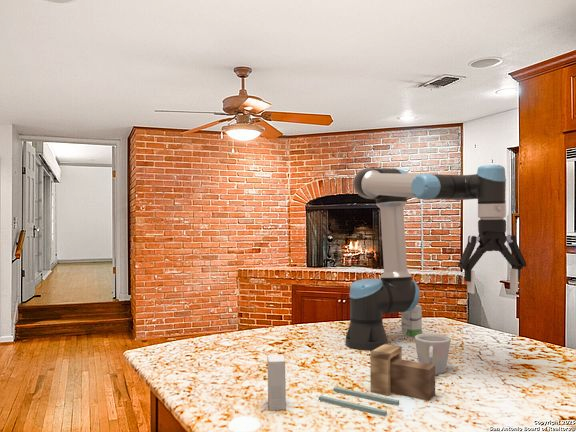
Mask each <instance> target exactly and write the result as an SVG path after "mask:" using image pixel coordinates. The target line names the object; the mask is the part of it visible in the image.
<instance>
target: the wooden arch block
mask: <svg viewBox="0 0 576 432" xmlns="http://www.w3.org/2000/svg"><path fill="white" fill-rule="evenodd" d="M402 347H403V346H400V345H393V344H389V343H388V344H384V345H382V346H380V347H378V348H376V349H374V350H370V352H369V354H370V355H369V357H370V359H369V361H370V369H369V370H370V393H374V394H378V395H383V396H390V395H391V394H392V393H391V389H390V359H391V358H396V359H402V360H403V357H402V356H403V354H402V353H403V352H402Z"/></svg>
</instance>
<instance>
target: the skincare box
mask: <svg viewBox="0 0 576 432" xmlns="http://www.w3.org/2000/svg"><path fill="white" fill-rule="evenodd" d="M266 356H267V361H266V362H267V401H268V409H269V410H268V411H281V410H282V411H283V410H286V409H287V402H286V401H287V400H286V399H287V397H286V393H287V392H286V391H287V389H286V387H287V386H286V360H285V359H286V358H285V356H284V353H281V354H280V353H278V354H273V353H272V354H267V355H266Z"/></svg>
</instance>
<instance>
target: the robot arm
mask: <svg viewBox="0 0 576 432" xmlns="http://www.w3.org/2000/svg"><path fill="white" fill-rule="evenodd" d="M476 170H477V172H476V174H475V173H474V174H438V173H436V174H435V173H408V172H407V171H406V170H404V169H399V168H396V167H394V168H385V167H384V168H381V167H380V168H379V167H375V168H374V167H369V168H368V167H367V168H364V169H361V170H360V171H358V173H356V175H355V177H354V179H353V188H354V190H355V192H356V193H357V194H358V196H360V197H362V198H364V199H368V200H375V205H376V206H377V207H378V208H379V210H380V223H381V224H380V227H381V245H382V259H383V262H382V263H383V272H382V274H381V275H380V278H363V279H358V280H355V281H353V282H352V283H351V284H350V287H349V311H350V312H349V326H348V328H347V332H346V335H345V345H346V347H348V348H351V349H355V350H363V351H373V350H374V349H376V348H378V347H380V346H382V345H384V344H389V343H388V341H389V340H388V339H389V338H388V335H387V333H386V330H385V327H384V324H383V317H384V316H383V315H388V314H395V313H400V314H401V313H403V312H406V311H410V310H413V309H414V308H415V306H416V305H419V302H420V297H421V295H420V294H421V293H420V288H419V286H418V283H417V281H415V280H413V277H412V276H413V275H412V274H411V273H410V272H408V264H407V263H408V260H407V245H406V228H405V226H406V225H405V213H404V208H405V206H406V205H407V203H408V199H409V198H413V199H414V198H415V199H418V200H424V201H425V200H426V201H429V200H452V201H467V200H477V217H478V218H479V219H478V221H477V230H478V235H477V236H476V235H469V236H468V237H467V244H466V247H465V248H464V250H463V253H462V255H461V258H460V260H459V262H458V263H457V267H458V268H459V269H463V270H464V281H465V282H466V283H467V284H466V287H467V288H466V289H467V290H466V291H467V293H469V294H471V295H472V294H473V295H474V294H475V293H476V290H475V288H476V287H475V286H476V285H475V284H476V282H475V270H473V268H474V267H475V266H476V264H477V263H478V262H479V260H480V259H481V258H482V256H484V254H485V253H487V252H500V253H501V255H502V256H503V258H505V260H506V261H507V263H508V264H509V265H510V266H511V267H512V268H509V291H510V292H514V293H515V292H516V293H519V281H520V280H521V270H522V269H523V268H524V267H527V262H526V259H525V258H524V255H523V253H522V251H521V250H520V247H519V245H518V243H517V236H516V235H513V234H508V235H507V236H506V232H507V220H506V219H504V218H506V217H507V213H506V212H507V210H506V209H507V205H506V190H507V189H506V188H507V186H506V184H507V179H506V178H507V177H506V169H505V167H504V166H503V165H500V164H491V165H490V164H489V165H487V164H486V165H480V166H478V167H477V169H476ZM478 243H479V245H478V246H477V247H476V244H478ZM506 243H507V244H508V246H509V247H507V245H506ZM475 248H476V250H474V249H475ZM509 249H510V250H511V252H510V250H509ZM473 252H474V253H473Z"/></svg>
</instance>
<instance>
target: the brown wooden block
mask: <svg viewBox="0 0 576 432" xmlns="http://www.w3.org/2000/svg"><path fill="white" fill-rule="evenodd" d="M390 389H391V394H392V395H398V396H403V397H407V398H412V399H417V400H422V401H426V402H427V401H428V402H430V401H431V400H432V399H433V398H434V397H435V396H436V374H435V365H433V364H426V363H420V362H419V361H412V360H408V359H403V358H402V359H396V358H391V359H390Z"/></svg>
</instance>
